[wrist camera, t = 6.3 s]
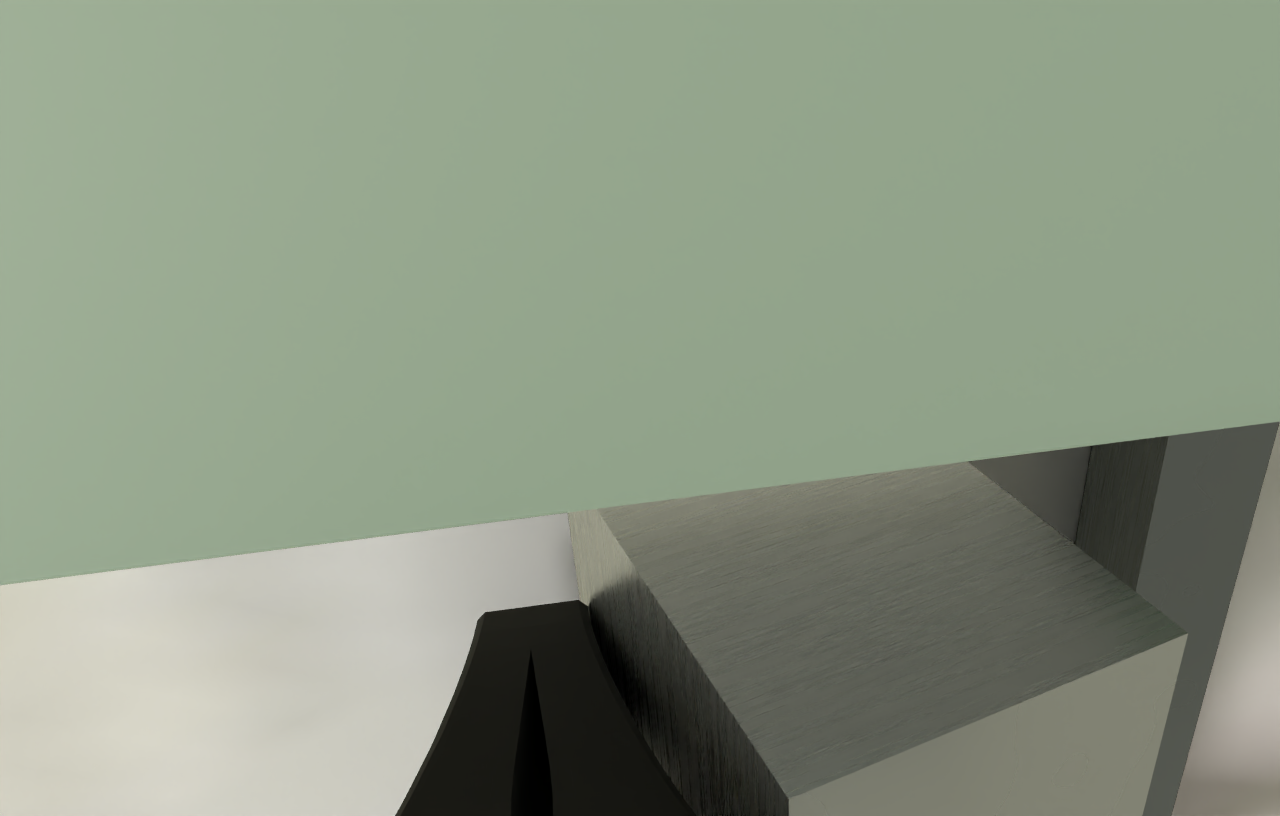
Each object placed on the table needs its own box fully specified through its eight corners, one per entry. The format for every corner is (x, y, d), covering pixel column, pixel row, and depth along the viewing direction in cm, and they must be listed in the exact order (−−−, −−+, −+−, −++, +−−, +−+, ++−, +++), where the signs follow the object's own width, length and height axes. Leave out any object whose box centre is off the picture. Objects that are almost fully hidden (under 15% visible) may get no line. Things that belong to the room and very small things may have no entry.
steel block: (841, 700, 17) (1091, 1015, 12) (606, 791, 16) (791, 1175, 11) (850, 369, 14) (1188, 632, 9) (559, 453, 13) (789, 798, 8)
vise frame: (1092, 859, 20) (1256, 1159, 15) (410, 962, 19) (383, 1306, 15) (1465, -794, 9) (2383, -1341, 4) (-116, -699, 8) (-819, -1244, 4)
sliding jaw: (1271, 170, 13) (1719, 398, 8) (185, 294, 12) (-17, 623, 7) (1386, -321, 10) (2135, -405, 5) (23, -202, 9) (-441, -185, 5)
